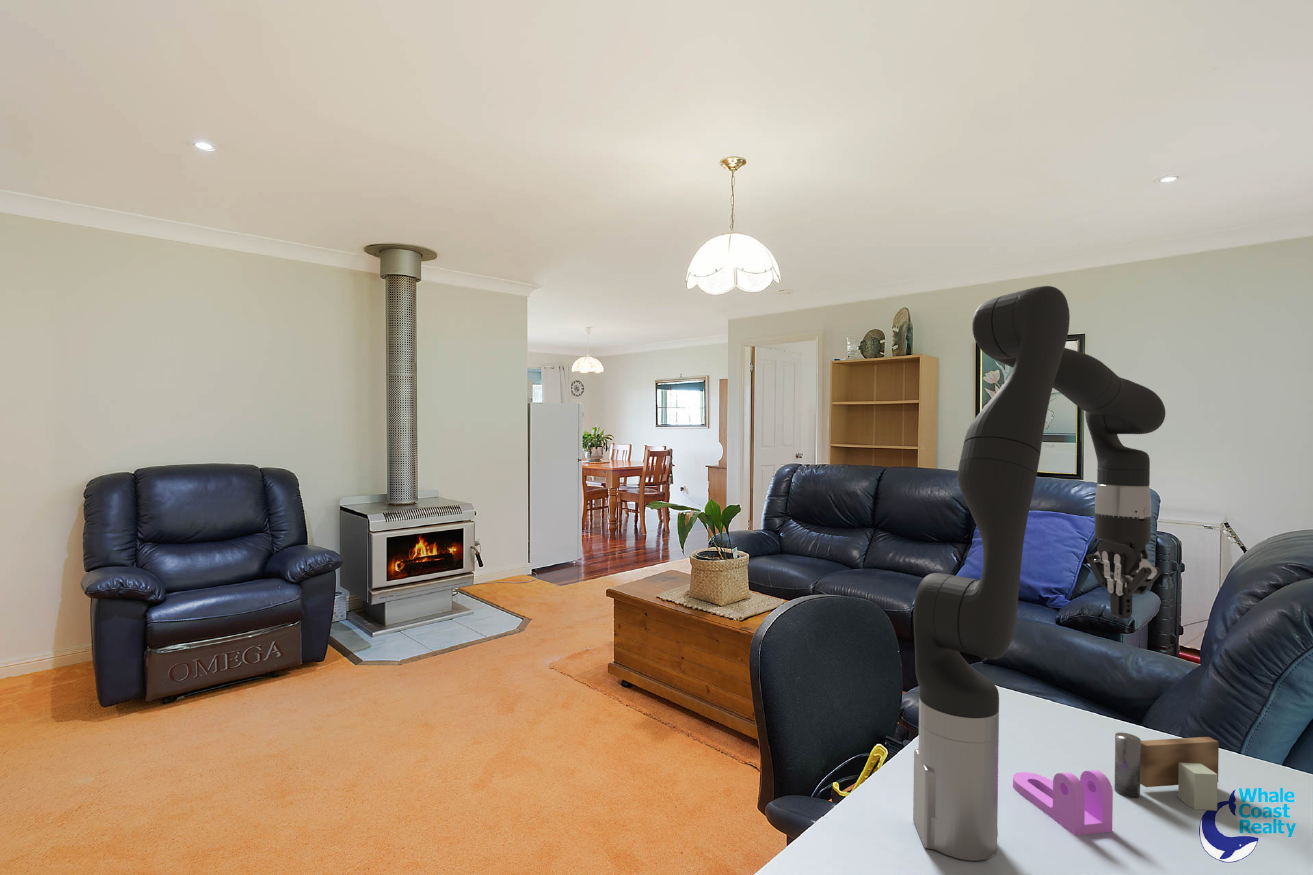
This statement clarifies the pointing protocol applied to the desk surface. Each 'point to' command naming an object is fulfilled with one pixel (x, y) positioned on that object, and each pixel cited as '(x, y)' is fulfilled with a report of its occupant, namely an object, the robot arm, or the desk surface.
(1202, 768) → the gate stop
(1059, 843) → the desk surface
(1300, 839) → the desk surface
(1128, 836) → the desk surface
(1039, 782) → the bracket
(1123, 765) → the hinge post
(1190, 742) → the gate
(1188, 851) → the desk surface
